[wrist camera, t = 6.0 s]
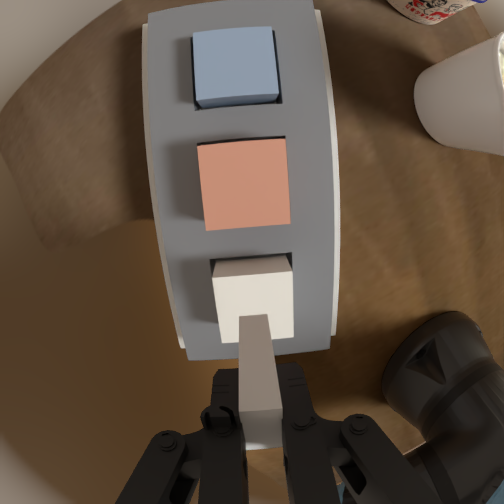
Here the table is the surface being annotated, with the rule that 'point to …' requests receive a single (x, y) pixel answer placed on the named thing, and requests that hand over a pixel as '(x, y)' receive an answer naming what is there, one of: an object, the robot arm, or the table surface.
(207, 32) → the blue key
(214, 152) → the terracotta key
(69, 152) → the table surface
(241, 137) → the key console
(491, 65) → the candle holder
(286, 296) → the white key
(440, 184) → the table surface
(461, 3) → the teacup with lid
